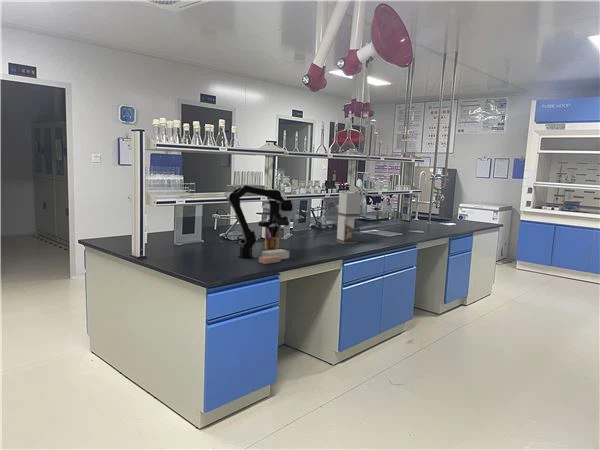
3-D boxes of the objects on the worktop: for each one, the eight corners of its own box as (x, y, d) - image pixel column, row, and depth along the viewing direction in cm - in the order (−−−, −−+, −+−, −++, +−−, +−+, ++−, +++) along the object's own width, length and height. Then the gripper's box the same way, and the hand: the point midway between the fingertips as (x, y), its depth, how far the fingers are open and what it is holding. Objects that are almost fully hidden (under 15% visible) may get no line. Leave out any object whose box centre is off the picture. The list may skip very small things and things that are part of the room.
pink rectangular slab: (264, 263, 240) (264, 258, 239) (258, 262, 244) (259, 257, 243) (280, 261, 247) (280, 256, 247) (274, 259, 251) (274, 254, 251)
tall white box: (344, 243, 314) (346, 194, 309) (336, 241, 323) (339, 193, 319) (357, 243, 319) (360, 194, 314) (350, 240, 328) (353, 193, 323)
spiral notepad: (270, 260, 249) (270, 253, 249) (261, 258, 255) (261, 250, 255) (289, 258, 259) (289, 251, 258) (280, 255, 265) (280, 248, 264)
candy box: (278, 248, 288) (279, 224, 286) (278, 249, 284) (279, 225, 282) (264, 247, 287) (265, 224, 285) (264, 248, 283) (265, 225, 281)
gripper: (270, 213, 246) (269, 241, 248) (295, 212, 259) (294, 238, 261) (258, 211, 254) (257, 238, 257) (283, 210, 267) (282, 235, 269)
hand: (273, 237), depth 260 cm, fingers closed
